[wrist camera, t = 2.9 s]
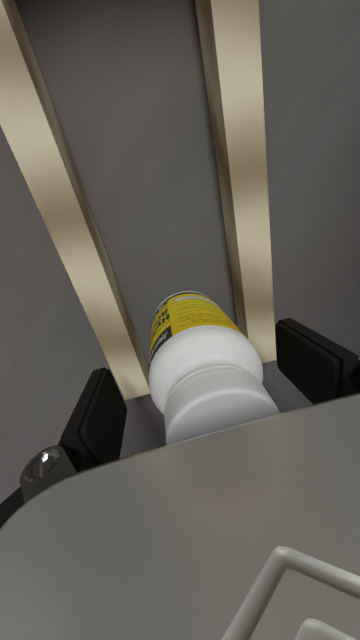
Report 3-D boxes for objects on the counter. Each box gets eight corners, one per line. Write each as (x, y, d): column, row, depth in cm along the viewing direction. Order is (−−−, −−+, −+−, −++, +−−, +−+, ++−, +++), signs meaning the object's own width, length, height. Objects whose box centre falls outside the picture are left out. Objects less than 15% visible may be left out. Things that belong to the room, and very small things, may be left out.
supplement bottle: (154, 285, 14) (153, 364, 5) (226, 293, 15) (332, 373, 6) (148, 351, 16) (139, 492, 7) (212, 355, 17) (277, 485, 8)
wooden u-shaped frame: (-117, -192, 7) (-421, -676, 3) (215, -263, 7) (280, -800, 3) (128, 382, 17) (121, 422, 13) (263, 346, 17) (292, 376, 14)
